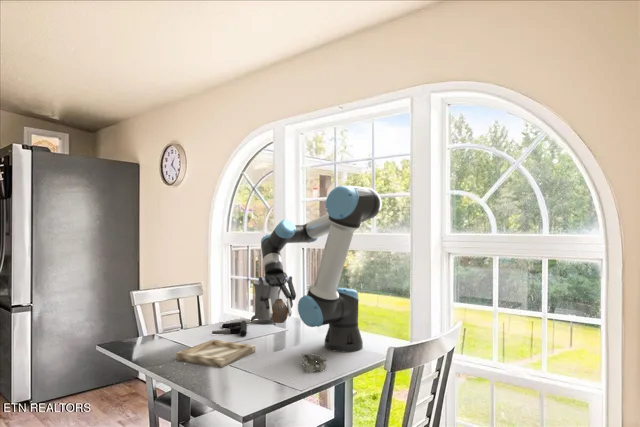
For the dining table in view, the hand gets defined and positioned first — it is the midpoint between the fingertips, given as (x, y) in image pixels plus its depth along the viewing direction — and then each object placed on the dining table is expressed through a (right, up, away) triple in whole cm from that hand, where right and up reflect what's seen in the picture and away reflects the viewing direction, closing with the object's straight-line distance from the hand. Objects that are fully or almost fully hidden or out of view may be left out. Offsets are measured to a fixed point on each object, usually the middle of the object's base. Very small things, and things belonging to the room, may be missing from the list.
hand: (280, 314), depth 163 cm
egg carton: (+12, -15, -15) cm, 24 cm away
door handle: (-25, -16, +33) cm, 44 cm away
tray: (-23, -14, -3) cm, 27 cm away
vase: (-1, -4, +3) cm, 5 cm away
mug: (-11, -16, +53) cm, 57 cm away
